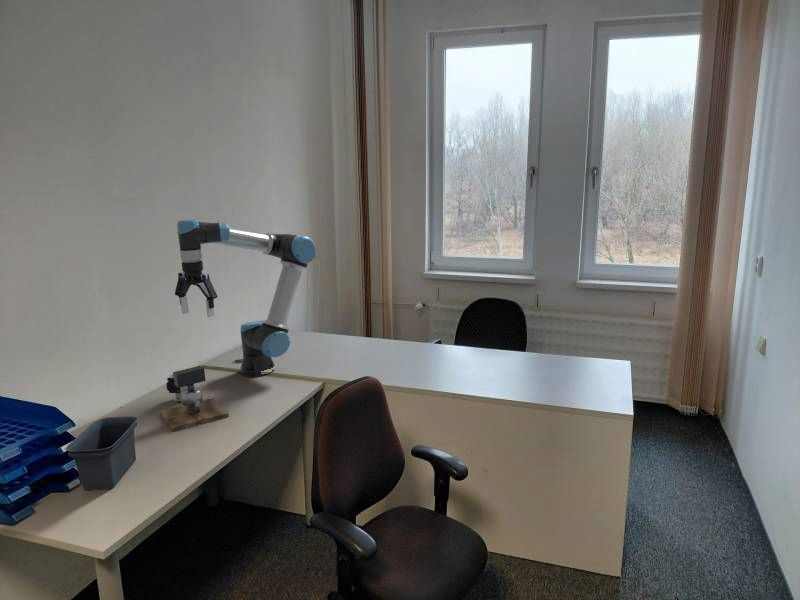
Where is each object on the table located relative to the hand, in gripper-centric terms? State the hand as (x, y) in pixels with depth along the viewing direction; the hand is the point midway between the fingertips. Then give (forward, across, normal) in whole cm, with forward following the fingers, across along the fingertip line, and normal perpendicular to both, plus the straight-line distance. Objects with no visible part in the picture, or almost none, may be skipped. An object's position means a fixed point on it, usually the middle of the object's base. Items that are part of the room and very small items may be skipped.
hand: (198, 314), depth 216 cm
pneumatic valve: (+35, +9, +6) cm, 36 cm away
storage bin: (+35, -17, +57) cm, 69 cm away
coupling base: (+35, -8, +14) cm, 38 cm away
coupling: (+29, -8, +15) cm, 34 cm away
